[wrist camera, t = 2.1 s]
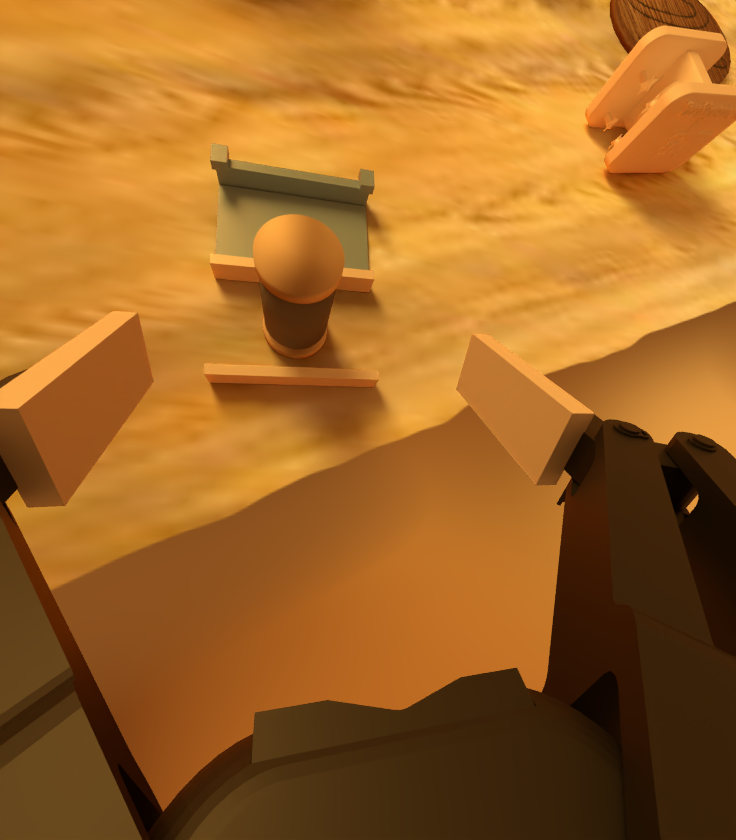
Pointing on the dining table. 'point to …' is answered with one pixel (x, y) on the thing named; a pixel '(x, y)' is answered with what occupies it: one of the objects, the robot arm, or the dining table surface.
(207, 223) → the dining table surface
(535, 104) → the dining table surface
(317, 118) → the dining table surface
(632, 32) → the trivet
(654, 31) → the cable organizer
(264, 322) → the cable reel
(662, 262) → the dining table surface
